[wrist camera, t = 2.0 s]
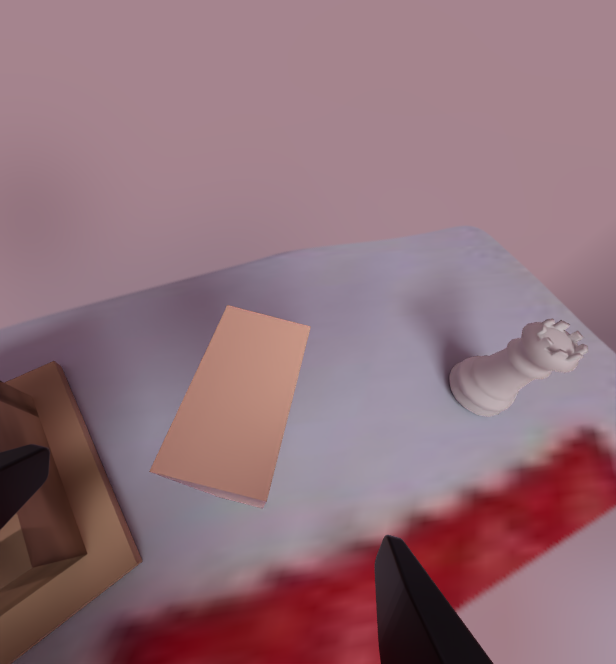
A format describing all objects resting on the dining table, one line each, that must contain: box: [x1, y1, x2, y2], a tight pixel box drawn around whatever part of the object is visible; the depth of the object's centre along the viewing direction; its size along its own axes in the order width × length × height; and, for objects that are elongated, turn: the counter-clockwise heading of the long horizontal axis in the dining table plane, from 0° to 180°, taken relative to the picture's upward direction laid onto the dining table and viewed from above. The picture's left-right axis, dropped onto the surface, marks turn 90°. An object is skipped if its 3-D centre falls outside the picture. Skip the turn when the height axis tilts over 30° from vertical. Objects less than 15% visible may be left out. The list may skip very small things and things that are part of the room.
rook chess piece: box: [449, 319, 588, 417], centre depth 19 cm, size 4×4×8 cm
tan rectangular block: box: [149, 305, 310, 508], centre depth 12 cm, size 4×2×12 cm, turn 168°
